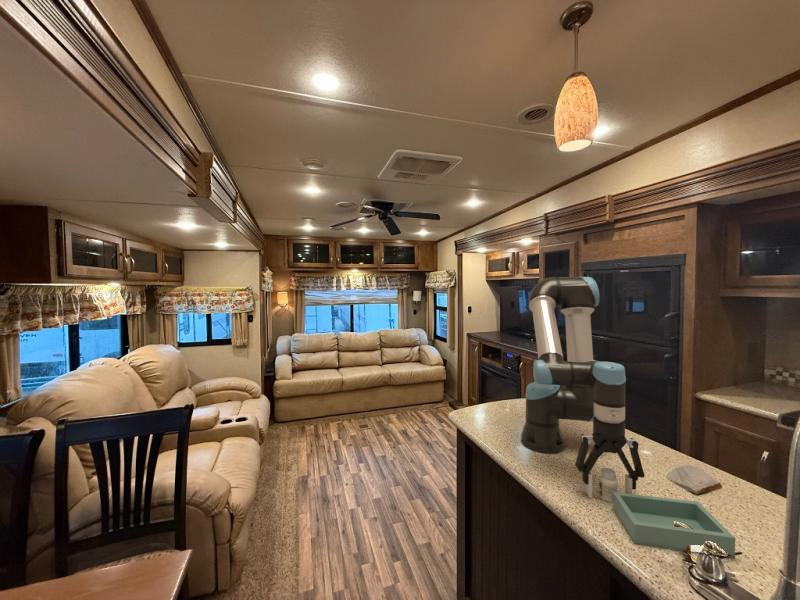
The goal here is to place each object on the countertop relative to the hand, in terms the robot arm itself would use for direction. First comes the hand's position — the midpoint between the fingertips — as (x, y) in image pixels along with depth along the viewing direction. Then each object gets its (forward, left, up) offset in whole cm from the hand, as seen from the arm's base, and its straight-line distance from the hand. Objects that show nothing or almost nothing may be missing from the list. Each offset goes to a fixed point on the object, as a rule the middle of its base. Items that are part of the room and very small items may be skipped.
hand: (608, 497), depth 92 cm
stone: (-13, +27, -1) cm, 30 cm away
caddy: (+11, +9, 0) cm, 14 cm away
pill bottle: (0, 0, 0) cm, 0 cm away
